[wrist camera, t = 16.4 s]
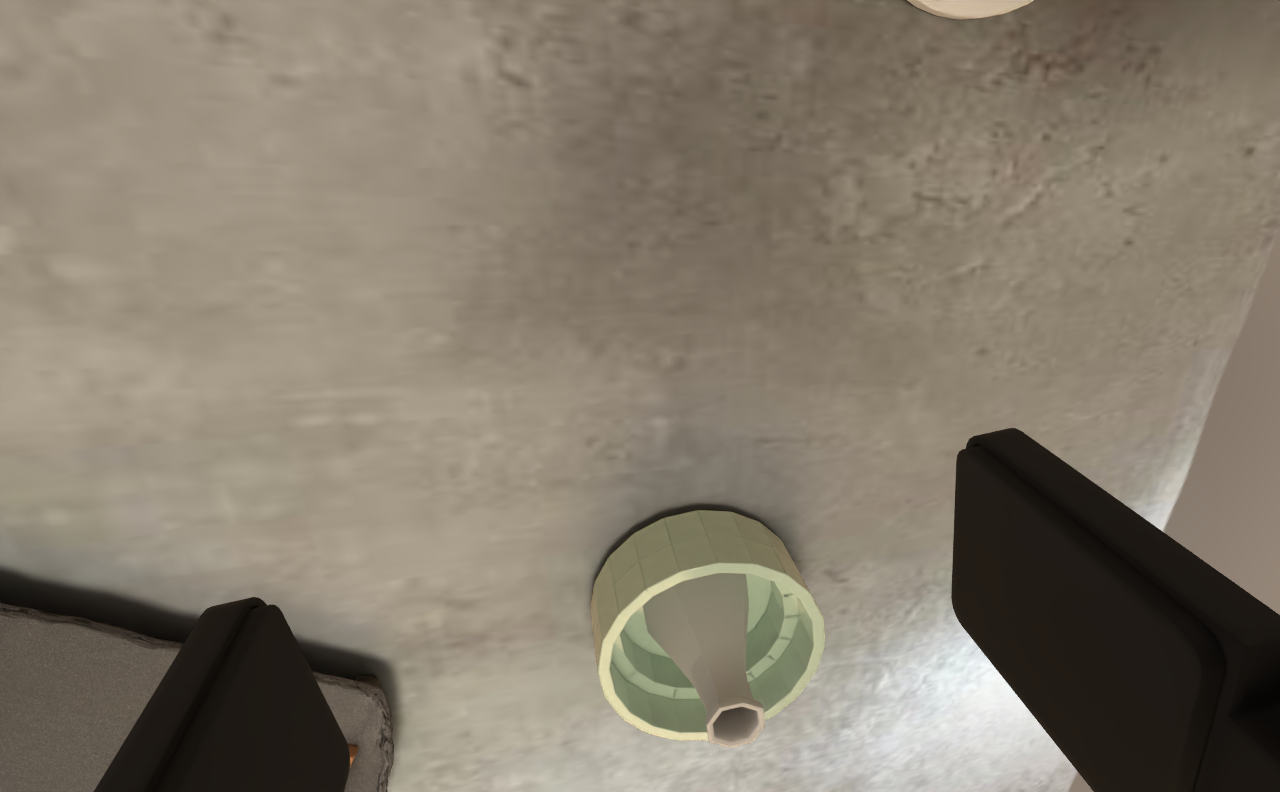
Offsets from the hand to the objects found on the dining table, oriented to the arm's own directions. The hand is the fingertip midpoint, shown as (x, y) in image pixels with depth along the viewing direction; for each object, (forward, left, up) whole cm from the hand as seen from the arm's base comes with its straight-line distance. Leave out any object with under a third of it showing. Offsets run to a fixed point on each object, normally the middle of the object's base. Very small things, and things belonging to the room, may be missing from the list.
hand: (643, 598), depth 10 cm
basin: (-4, +25, -28) cm, 38 cm away
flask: (-4, +25, -28) cm, 37 cm away
